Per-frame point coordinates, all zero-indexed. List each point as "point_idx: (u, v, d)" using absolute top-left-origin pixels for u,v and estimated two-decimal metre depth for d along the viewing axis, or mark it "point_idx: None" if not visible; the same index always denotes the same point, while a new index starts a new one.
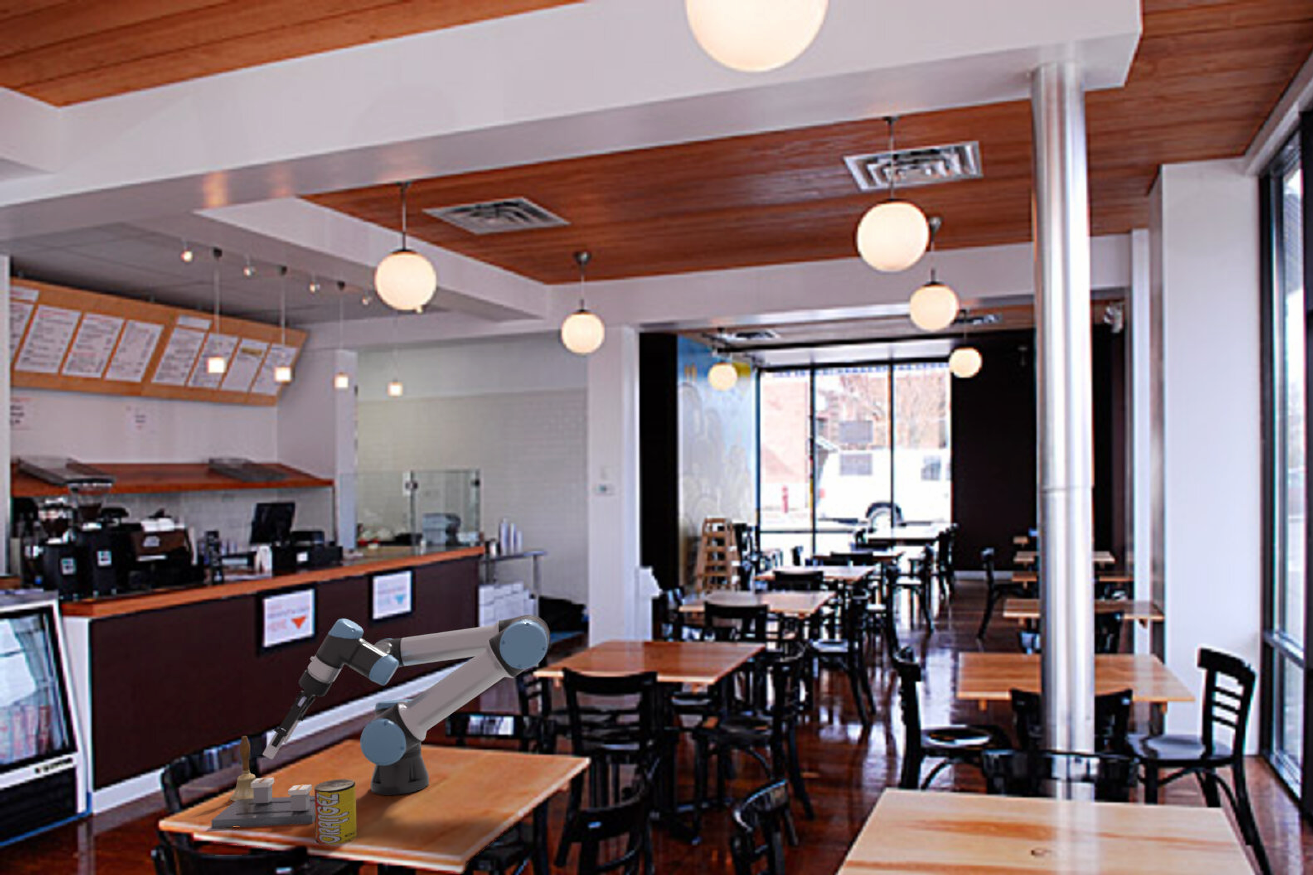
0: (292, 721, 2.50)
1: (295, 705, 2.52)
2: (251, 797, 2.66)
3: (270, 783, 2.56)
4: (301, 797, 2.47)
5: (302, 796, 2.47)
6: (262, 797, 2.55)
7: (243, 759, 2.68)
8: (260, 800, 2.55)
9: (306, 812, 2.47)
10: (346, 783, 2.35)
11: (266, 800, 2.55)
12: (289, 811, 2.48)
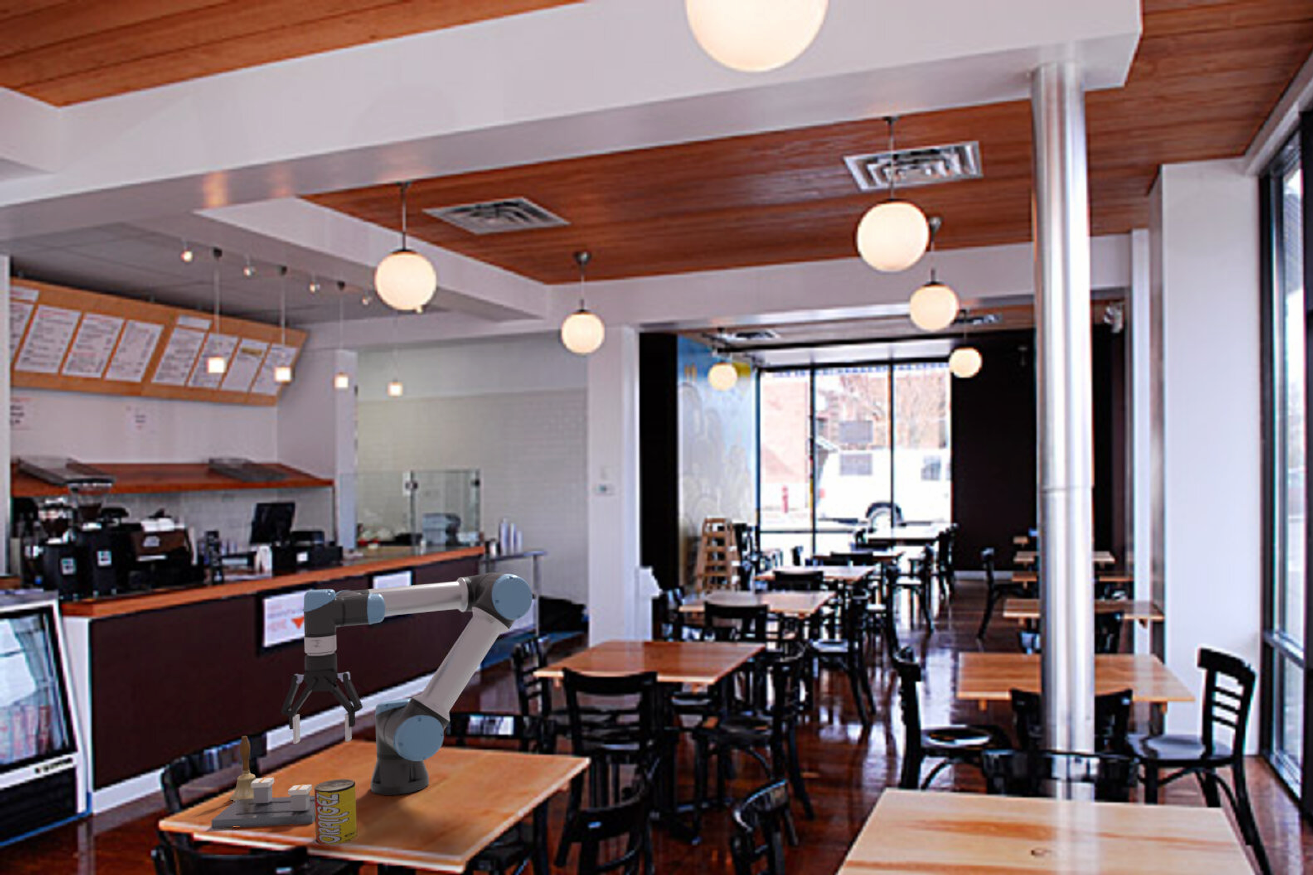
0: (356, 694, 2.51)
1: (348, 682, 2.50)
2: (251, 797, 2.66)
3: (270, 783, 2.56)
4: (301, 797, 2.47)
5: (302, 796, 2.47)
6: (262, 797, 2.55)
7: (243, 759, 2.68)
8: (260, 800, 2.55)
9: (306, 812, 2.47)
10: (346, 783, 2.35)
11: (266, 800, 2.55)
12: (289, 811, 2.48)
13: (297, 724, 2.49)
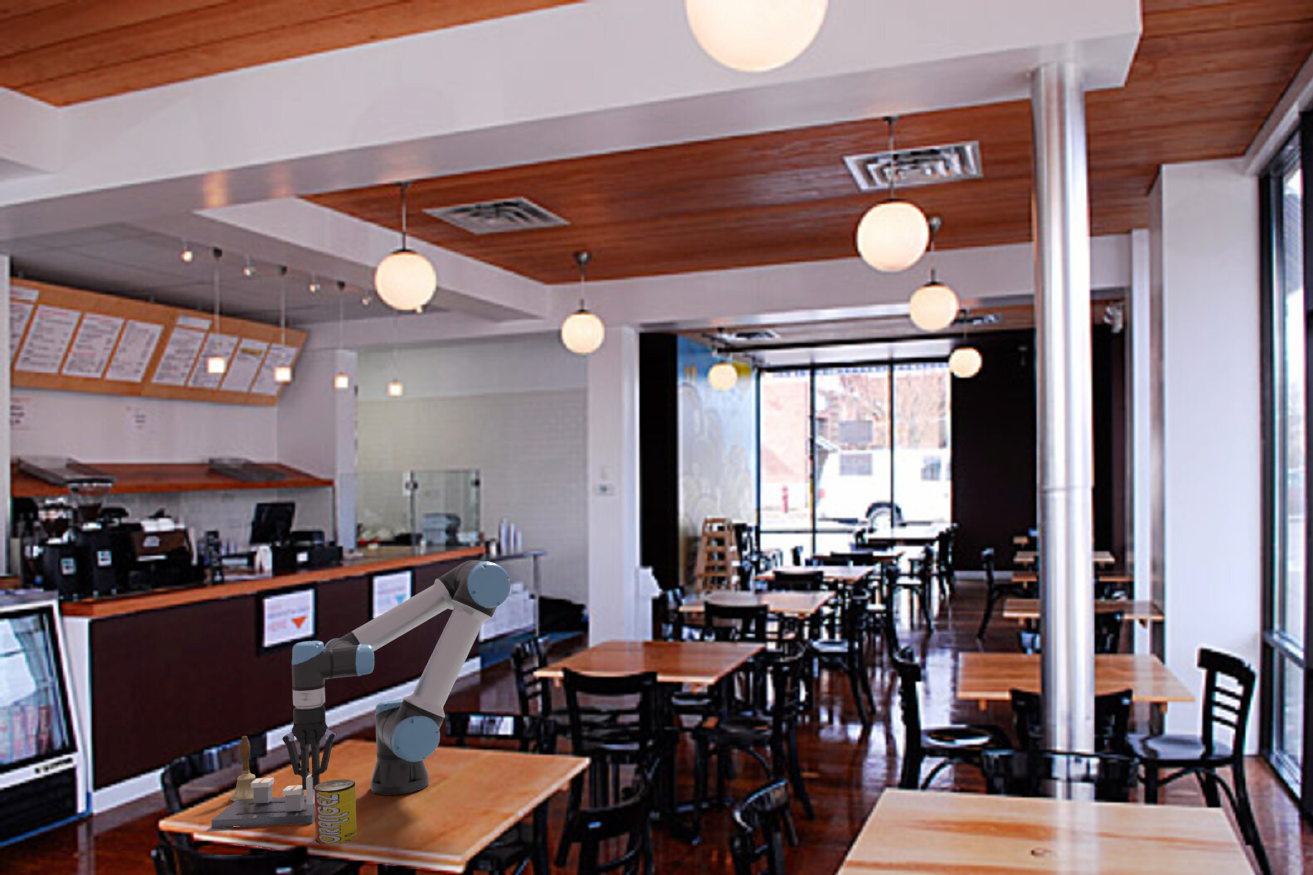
0: (329, 756, 2.50)
1: (330, 743, 2.49)
2: (251, 797, 2.66)
3: (270, 783, 2.56)
4: (295, 798, 2.47)
5: (296, 796, 2.47)
6: (262, 797, 2.55)
7: (243, 759, 2.68)
8: (260, 800, 2.55)
9: (306, 812, 2.47)
10: (346, 783, 2.35)
11: (266, 800, 2.55)
12: (289, 811, 2.48)
13: None
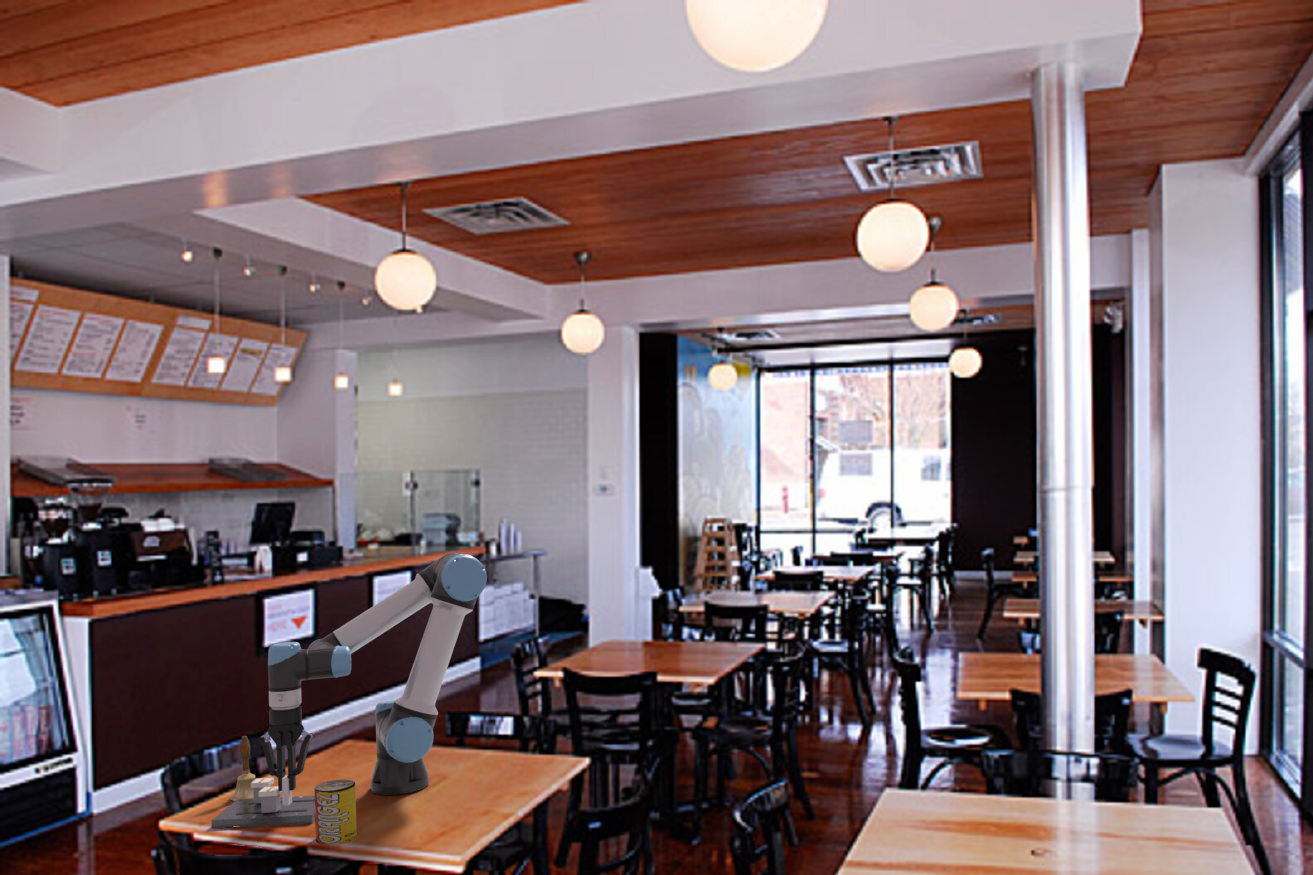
0: (305, 757, 2.50)
1: (306, 744, 2.48)
2: (251, 797, 2.66)
3: (270, 783, 2.56)
4: (271, 799, 2.47)
5: (272, 797, 2.47)
6: None
7: (243, 759, 2.68)
8: (260, 800, 2.55)
9: (306, 812, 2.47)
10: (346, 783, 2.35)
11: None
12: (289, 811, 2.48)
13: None
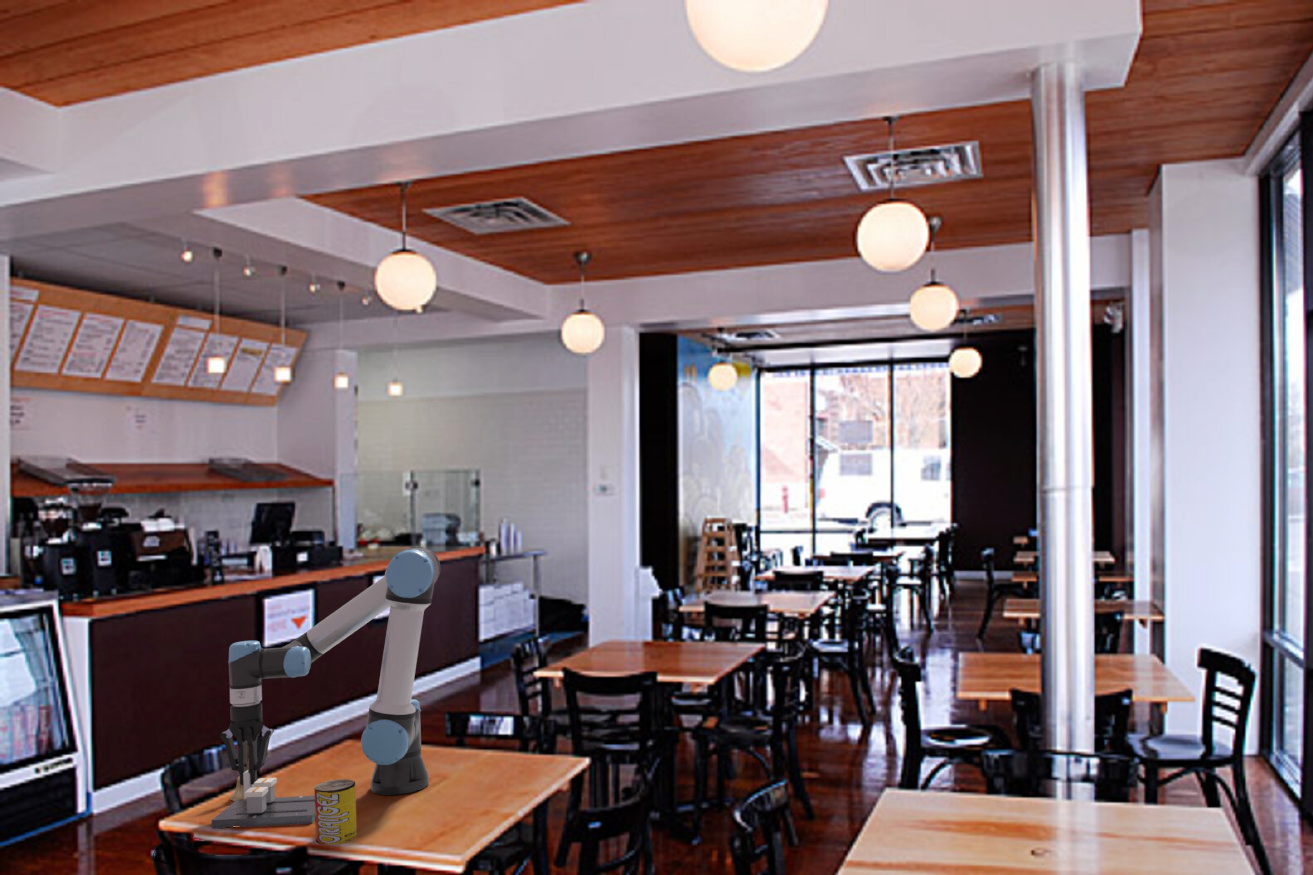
0: (266, 752, 2.58)
1: (267, 739, 2.56)
2: None
3: (273, 783, 2.56)
4: (257, 800, 2.47)
5: (258, 798, 2.47)
6: None
7: None
8: None
9: (306, 812, 2.47)
10: (346, 783, 2.35)
11: (269, 800, 2.55)
12: (289, 811, 2.48)
13: None
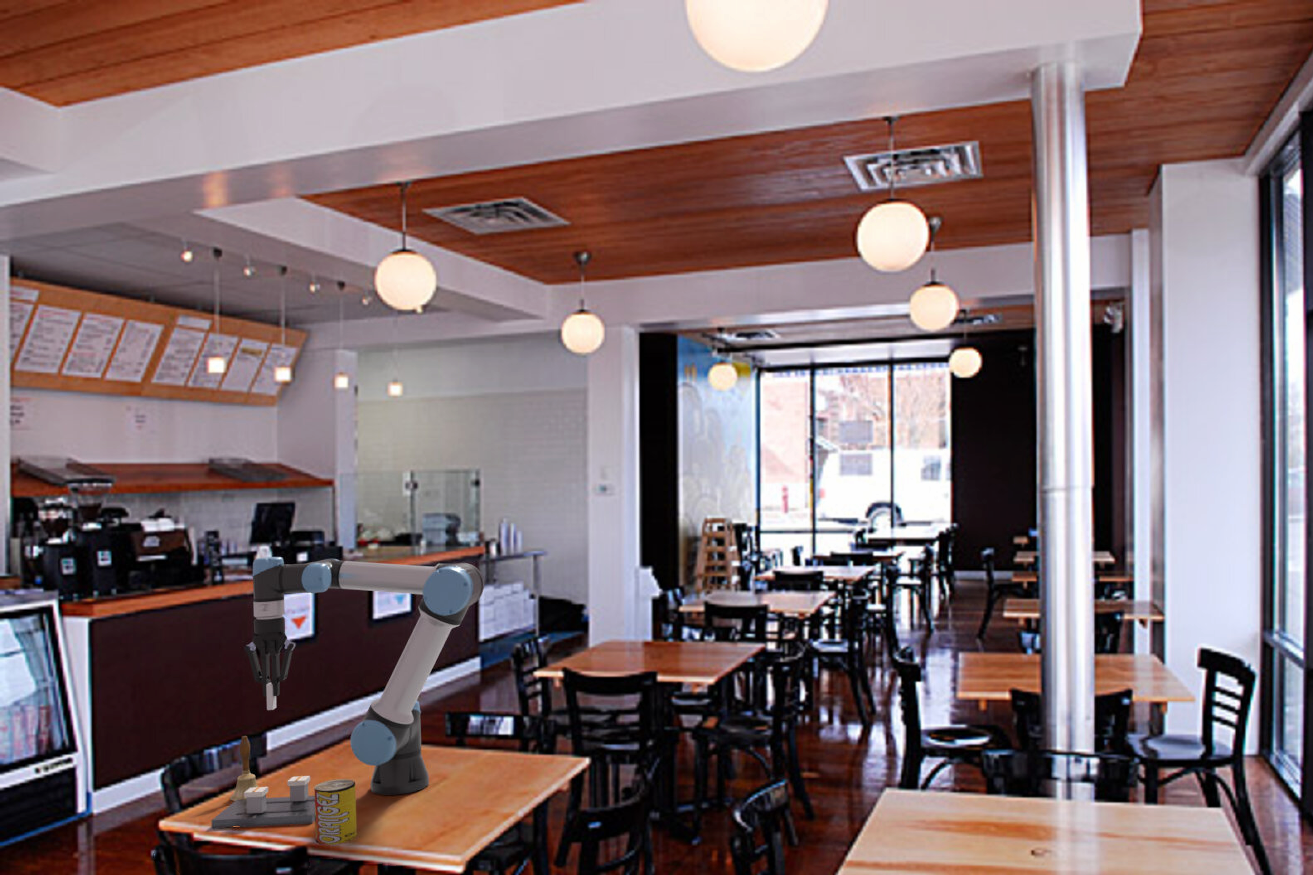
0: (288, 665, 2.64)
1: (289, 652, 2.62)
2: None
3: (306, 781, 2.56)
4: (257, 800, 2.47)
5: (258, 798, 2.47)
6: (299, 795, 2.55)
7: (243, 759, 2.68)
8: (297, 798, 2.55)
9: (306, 812, 2.47)
10: (346, 783, 2.35)
11: (303, 798, 2.55)
12: (289, 811, 2.48)
13: None
